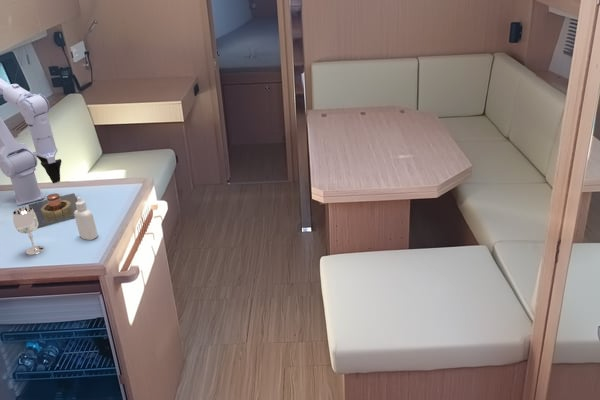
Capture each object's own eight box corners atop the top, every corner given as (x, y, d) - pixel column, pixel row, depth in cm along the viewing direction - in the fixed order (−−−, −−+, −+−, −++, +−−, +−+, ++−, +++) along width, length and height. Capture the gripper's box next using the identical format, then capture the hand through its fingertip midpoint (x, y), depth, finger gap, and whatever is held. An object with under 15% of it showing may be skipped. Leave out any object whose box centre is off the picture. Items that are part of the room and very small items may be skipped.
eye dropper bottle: (95, 230, 159) (85, 192, 153) (99, 238, 154) (89, 199, 149) (79, 234, 157) (68, 196, 152) (82, 242, 152) (72, 203, 147)
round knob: (53, 208, 172) (49, 193, 170) (65, 207, 172) (61, 193, 170) (48, 213, 169) (44, 198, 167) (60, 213, 169) (56, 198, 166)
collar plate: (28, 206, 176) (26, 200, 175) (74, 195, 182) (72, 188, 181) (36, 228, 162) (34, 221, 161) (85, 215, 168) (83, 207, 167)
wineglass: (21, 257, 147) (8, 217, 142) (25, 247, 152) (12, 208, 147) (45, 253, 148) (32, 213, 143) (47, 243, 153) (36, 204, 148)
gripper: (24, 133, 170) (36, 174, 175) (31, 145, 158) (44, 189, 164) (48, 128, 173) (59, 169, 179) (57, 140, 161) (69, 183, 167)
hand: (54, 178), depth 172 cm, fingers open, 7 cm apart
